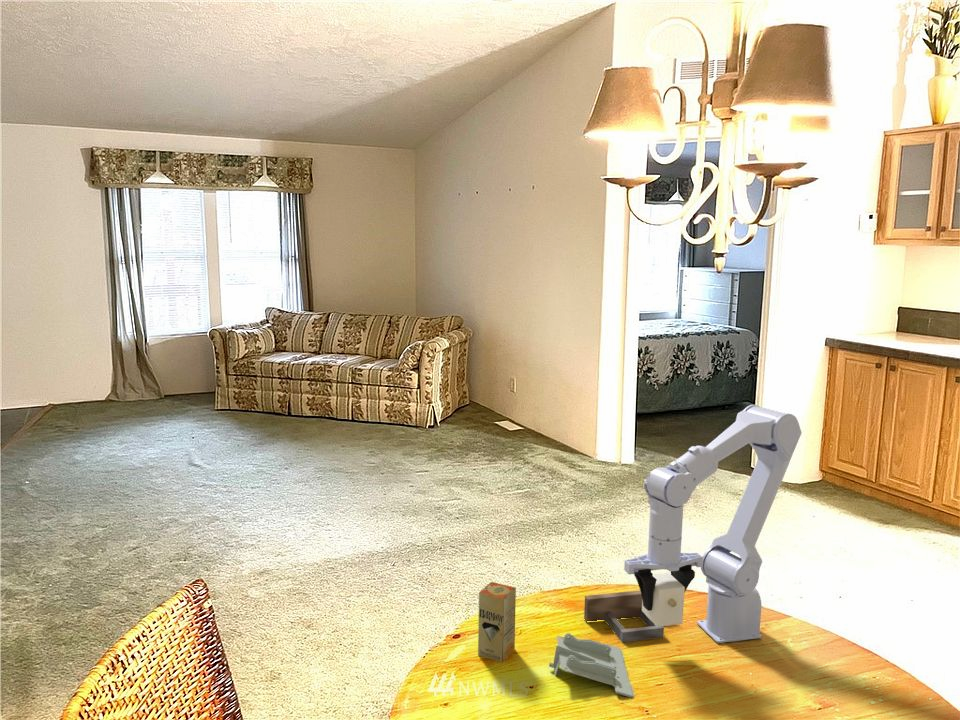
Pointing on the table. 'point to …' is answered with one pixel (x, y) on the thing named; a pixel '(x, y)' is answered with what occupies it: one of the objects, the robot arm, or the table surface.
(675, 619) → the cabinet block
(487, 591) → the shoe polish box
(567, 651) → the metal bracket
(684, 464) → the robot arm
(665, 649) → the table surface
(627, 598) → the board
